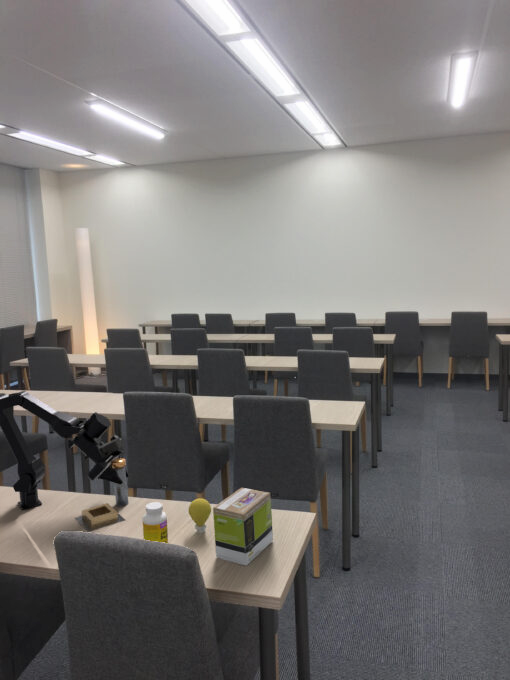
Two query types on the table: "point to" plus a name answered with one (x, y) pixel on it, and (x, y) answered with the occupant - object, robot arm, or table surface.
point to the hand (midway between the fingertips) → (125, 480)
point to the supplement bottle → (155, 523)
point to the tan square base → (99, 517)
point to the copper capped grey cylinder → (121, 489)
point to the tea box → (243, 525)
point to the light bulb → (200, 513)
